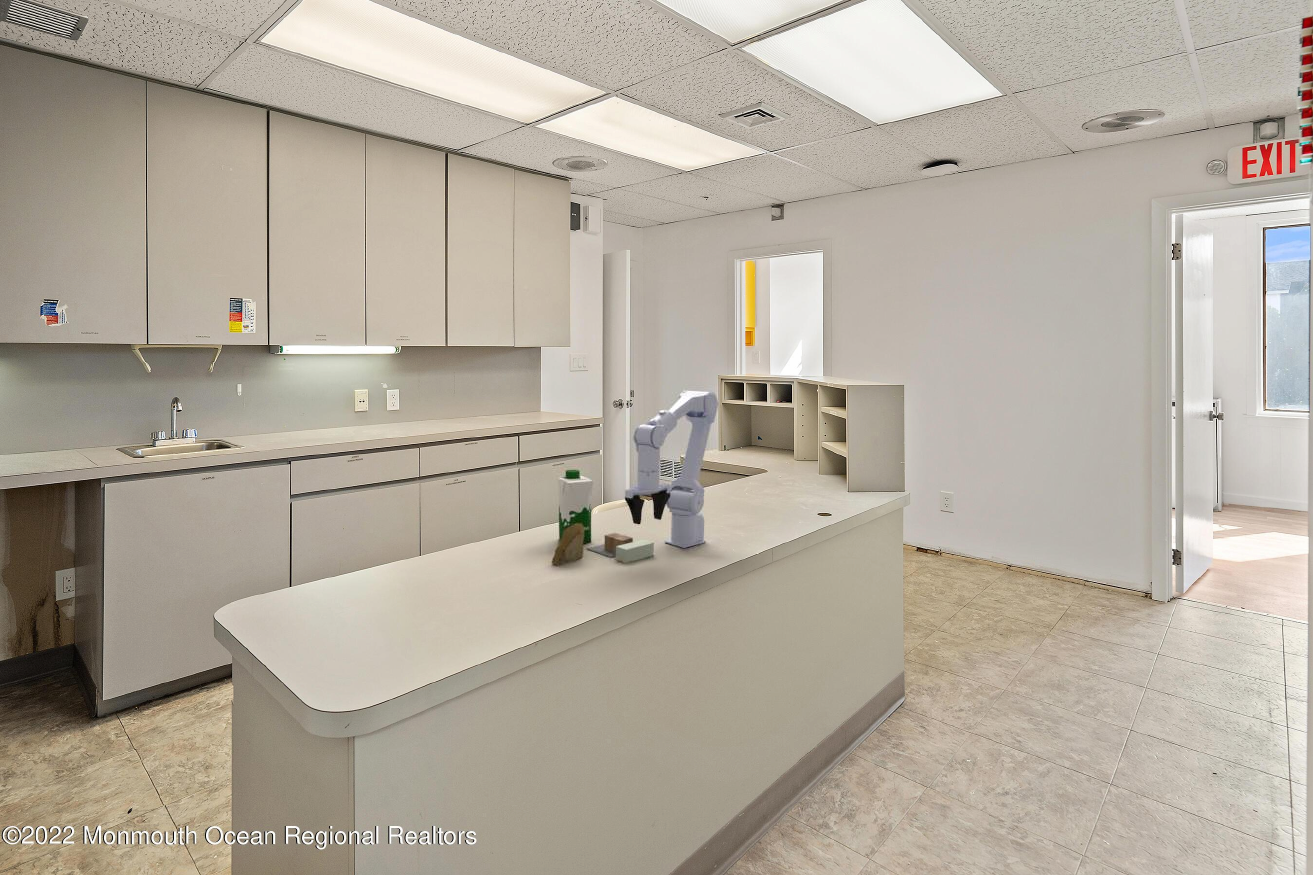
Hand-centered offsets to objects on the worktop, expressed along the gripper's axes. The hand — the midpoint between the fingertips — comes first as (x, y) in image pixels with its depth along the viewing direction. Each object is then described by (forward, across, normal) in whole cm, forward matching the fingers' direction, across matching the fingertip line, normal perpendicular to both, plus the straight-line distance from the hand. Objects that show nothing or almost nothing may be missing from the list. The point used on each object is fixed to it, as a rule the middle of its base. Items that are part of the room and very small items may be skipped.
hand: (647, 521), depth 181 cm
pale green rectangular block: (+10, +2, -2) cm, 10 cm away
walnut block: (+8, +2, -5) cm, 10 cm away
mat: (+10, +2, -11) cm, 15 cm away
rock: (+10, +17, -12) cm, 23 cm away
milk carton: (+10, +4, -25) cm, 27 cm away
